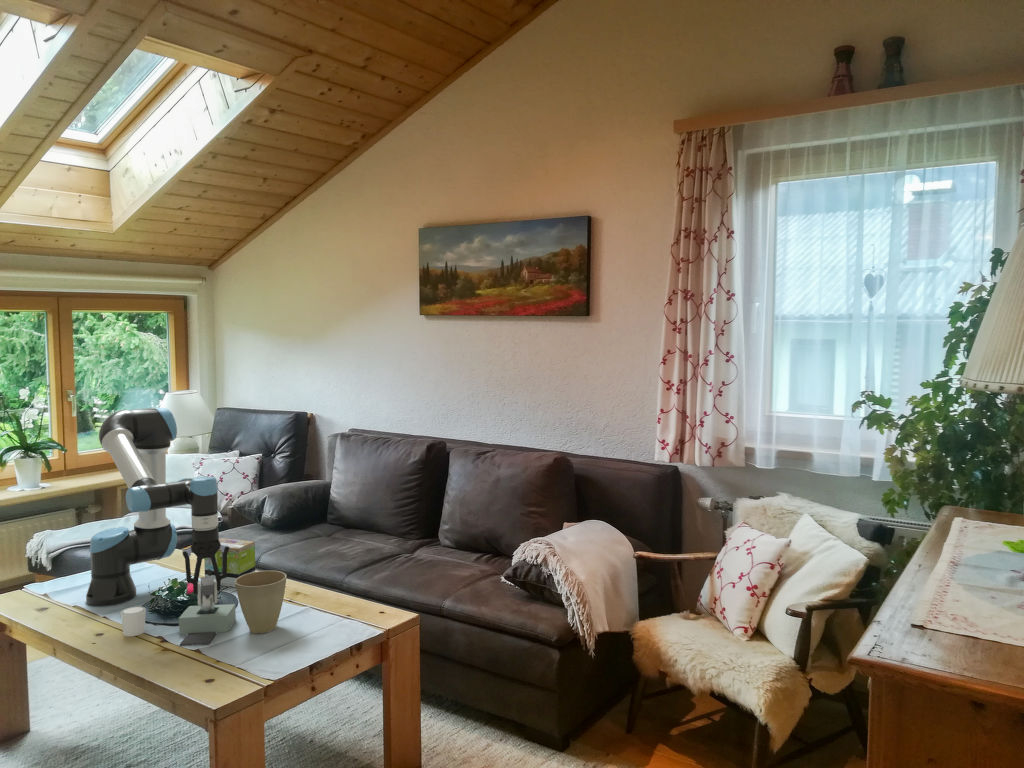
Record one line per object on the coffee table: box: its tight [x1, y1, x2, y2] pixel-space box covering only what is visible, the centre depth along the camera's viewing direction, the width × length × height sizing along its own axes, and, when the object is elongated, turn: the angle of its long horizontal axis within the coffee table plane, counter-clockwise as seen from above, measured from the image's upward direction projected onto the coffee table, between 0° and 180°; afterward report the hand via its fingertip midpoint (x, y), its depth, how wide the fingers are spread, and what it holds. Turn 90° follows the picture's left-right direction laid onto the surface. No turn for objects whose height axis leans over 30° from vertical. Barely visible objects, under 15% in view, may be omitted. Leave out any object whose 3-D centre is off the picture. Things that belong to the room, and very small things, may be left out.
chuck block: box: [178, 603, 237, 635], centre depth 230 cm, size 14×10×5 cm
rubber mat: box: [179, 632, 217, 647], centre depth 221 cm, size 8×8×1 cm
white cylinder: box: [120, 605, 147, 637], centre depth 226 cm, size 7×7×7 cm
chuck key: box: [200, 576, 216, 614], centre depth 230 cm, size 9×4×12 cm, turn 27°
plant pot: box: [235, 570, 287, 634], centre depth 228 cm, size 15×15×16 cm
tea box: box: [203, 537, 256, 588], centre depth 272 cm, size 15×10×15 cm
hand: (207, 602), depth 230 cm, fingers closed on chuck key, 4 cm apart
